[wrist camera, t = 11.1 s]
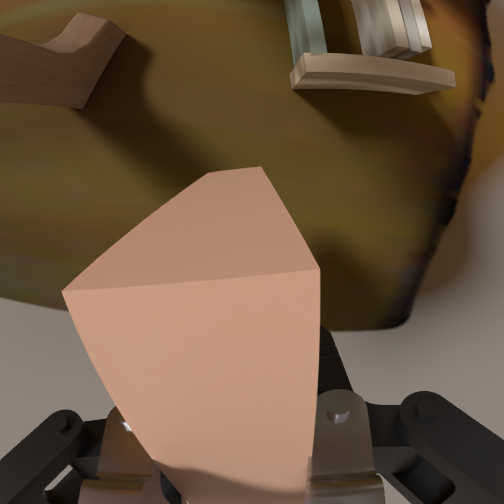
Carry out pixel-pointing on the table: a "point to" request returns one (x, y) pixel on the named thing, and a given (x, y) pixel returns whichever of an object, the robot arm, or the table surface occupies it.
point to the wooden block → (58, 64)
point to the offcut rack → (365, 49)
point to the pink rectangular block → (211, 339)
